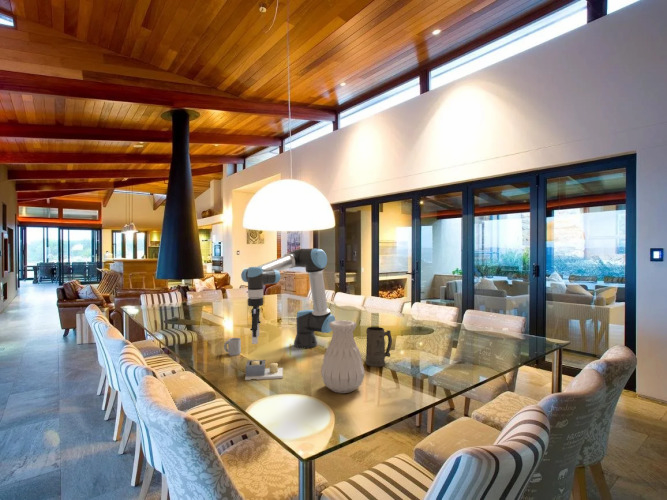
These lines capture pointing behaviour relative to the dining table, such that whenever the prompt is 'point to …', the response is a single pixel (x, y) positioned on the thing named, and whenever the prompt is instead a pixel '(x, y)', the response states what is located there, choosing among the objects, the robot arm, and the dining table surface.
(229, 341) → the cup
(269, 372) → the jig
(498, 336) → the dining table surface
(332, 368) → the vase
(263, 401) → the dining table surface
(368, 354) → the beer stein
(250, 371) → the collar
